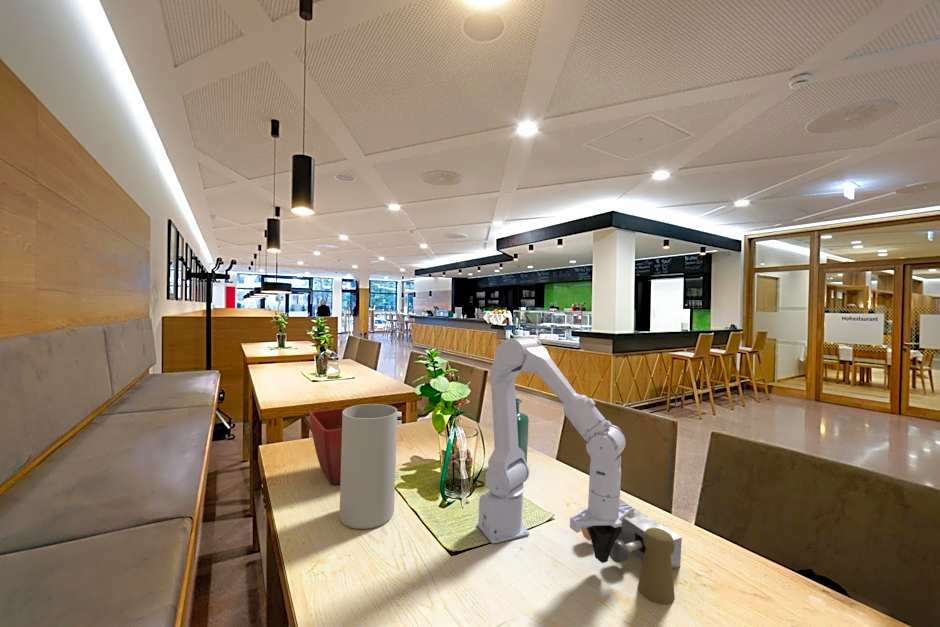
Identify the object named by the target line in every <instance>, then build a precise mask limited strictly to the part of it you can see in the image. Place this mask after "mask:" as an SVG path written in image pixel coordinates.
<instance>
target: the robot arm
mask: <svg viewBox="0 0 940 627" xmlns="http://www.w3.org/2000/svg"><path fill="white" fill-rule="evenodd" d="M494 350H495V357H494V360H493V362H492V365H491V368H490V388H491V406H492V421H493V422H492V423H493V424H492V425H493V442H494V443H493V444H494V449H493V451H492V453H491V455H490V457H489V458H488V460H487V465H488V466H487V471H486V474H485V483H486V486H487V488H488V491H487V492H485V493H483V494H481V495H480V497H479V500H478V501H479V502H478V522H477V523H476V526H477V527H478V528H479V530H480V531H481V533H483V534H484V536H485V537H486V538H487V539H488V540H489V541H490V543H491V544H493V545H495V544H498V543H501V542H506V541H509V540H513V539H518V538H521V537H525V536H529V535H530V531H529V530H528V529H527V528H526V527H525V526H524V525H523V522H522V521H523V499H524V483H525V482H526V481H527V480H528V478H529V476H530V468H529V466H528V462H527V463H526V461H525V457H524V452H523V451H522V450H521V449H520V448H519V445H518V429H517V412H516V398H517V397H516V396H517V395H516V381H515V379H516V377H517V376H519V375H520V374H521V373H522V372H526V373H532V374H535V375H537V376H538V377H540V379H541V380H542V381H543V382H544V384H546V385H547V387H549V389H550V390H551V391H552V392H553V394H555V396H556V397H557V398H558V399H559V400H560V401H561V402H562V404H563V409H562V410H563V414H564V416H566V417H567V419H568V421H569V422H570V423H571V424H572V425H573V427H574V429H576V431H577V432H578V433H579V435H580V436H581V437H582V438H583V440H584V441H585V442H587V443H585V449H586V451H587V453H588V456H589V457H590V464H589V482H588V501H587V502H588V503H587V507H586V508H585V509H583V510H581V512H579V513H578V514H576V515H573V516H570V518H569V528H570V529H571V530H572V531H573V532H575V533H578V534H579V533H582V531H581V529H584V528H587V530H588V532H589V535H590V537H591V539H590V540H591V544H592V548H593V553H594V558H596V560H597V561H599V563H601V564H604V563H607V562H608V561H609V557H610V552H611V549H612V547H613V544H614V542H615V541H616V539H617V537H618V536H619V535H620V534H621V532H622V527H621V526H622V522H621V520H622V519H624V518H625V517H629V518H634V508H635V507H633V506H632V505H630V504H628V503H627V504H620V500H621V481H622V455H621V453H622V452H623V451H624V449H625V447H626V445H627V444H626V443H627V441H626V437H625V435H624V433H623V431H622V429H621V428H620V427H619V426H617V425H614V424H613V423H612V422H611V421H610V420H609V419H608V420H607V419H606V418H605V417H604V415H603V414H602V413H601V412H600V411H599V409H598V408H597V407H596V406H595V405H596V402H595V401H594V399H593V398H589V397H588V396H587V395H585V394H579V393H577V392H576V390H575V389H574V388H573V386H572V385H571V383H570V382H569V381H568V379H567V378H566V377H565V376H564V374H563V373H562V372H561V370H560V369H559V367H558V366H557V365H556V364H555V362H554V360H553V359H552V358H551V356H550V354H549V351H548V349H547V348H546V347H545V346H543V345H542V343H541V342H540V340H538V339H537V338H536V337H533V336H525V337H518V338H517V337H516V338H512V337H510V338H506V339H504V340H503V341H502V342H501V343H500V344H499V345H497V347H495V349H494Z"/></svg>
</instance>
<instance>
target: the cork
mask: <svg viewBox="0 0 940 627" xmlns="http://www.w3.org/2000/svg"><path fill="white" fill-rule="evenodd" d="M643 543H644V546H645V547H646V549H645V554H644V558H643V560H642V565H641V570H640V574H639V580H638V584H637V588H638V591H639V592H640V594H641V595H642V596H643V597H644V598H646V599H647V600H649V601H650V602H652V603H656V604H659V605H670V604H672V603H674V601H675V599H676V598H675V588H674V576H673V575H674V574H673V570H672V563H671V554H673V551H674V549H675V544H674V540H673V538H672V536H671V535H670V534H669V533H668V532H666V531H664V530H662V529H659V528H649V529H647V530H646V531H645V532H644V534H643Z"/></svg>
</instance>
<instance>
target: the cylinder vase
mask: <svg viewBox="0 0 940 627" xmlns="http://www.w3.org/2000/svg"><path fill="white" fill-rule="evenodd" d="M345 408H346V409H345V410H343V414H342V448H341V482H340V484H339V488H340V490H339V519H340V521H341V523H342V524H343V525H345V526H347V527H348V528H352V529H355V530H356V529H358V530H366V529H367V530H368V529H373V528H377V527H381V526H382V525H384V524H386V523H387V522H388V521H389V520H391V518H392V517H393V515H394V513H395V495H396V494H395V492H396V491H395V489H396V487H395V486H396V464H397V463H396V461H397V458H396V457H397V433H398V432H397V431H398V408H396V407H395V406H392V405H390V404H382V403H364V404H357V405H352V406H350V407H345Z"/></svg>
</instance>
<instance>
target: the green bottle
mask: <svg viewBox="0 0 940 627" xmlns="http://www.w3.org/2000/svg"><path fill="white" fill-rule="evenodd" d="M521 403H523V400H522V399H520V398H517V397H516V412H517V429H518V445H519V448H520V449H521V450H522V451H523V452H524V457H525V461H526V463H527V464H528V444H529V440H528V439H529V423H530V422H529V417H528V415H527V414H525V413H523V412H520V404H521Z"/></svg>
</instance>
